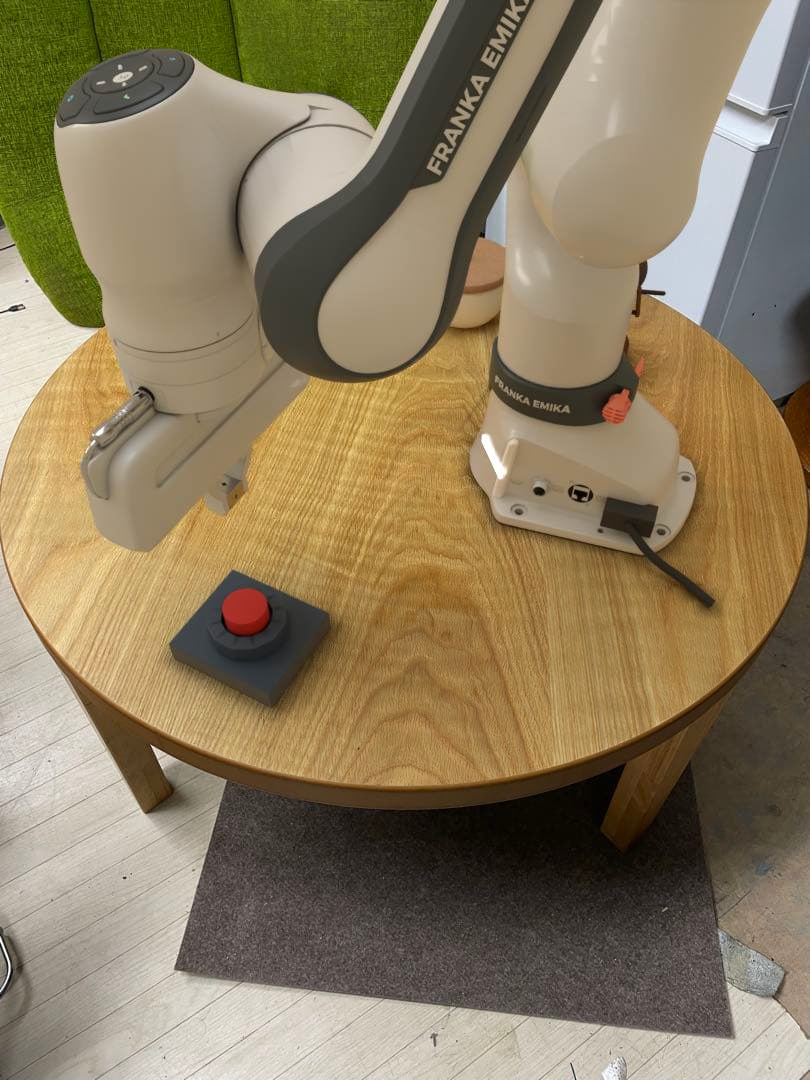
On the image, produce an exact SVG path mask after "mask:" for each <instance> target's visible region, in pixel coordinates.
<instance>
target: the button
mask: <svg viewBox="0 0 810 1080" xmlns="http://www.w3.org/2000/svg"><path fill="white" fill-rule="evenodd" d="M222 610H223V615H224V619H225V622H226V626H227V628H228V629H229V630H230V631H231V632H232V633H234V634H236V635H239V636H251V635H255V634H257V633H259V632H260V631H262V630H263V629H264V628H265V627H266V625H267V624H268V622H269V617H270V615H269V609H268V604H267V600H266V598H265V596H264V595H263V594H262V593H261V592H259V591H257V590H254V589H240V590H237V591H235V592H233V593H231V594H230V595H229V596H228V597H227V598H226V599H225V601H224V603H223V607H222Z"/></svg>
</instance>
